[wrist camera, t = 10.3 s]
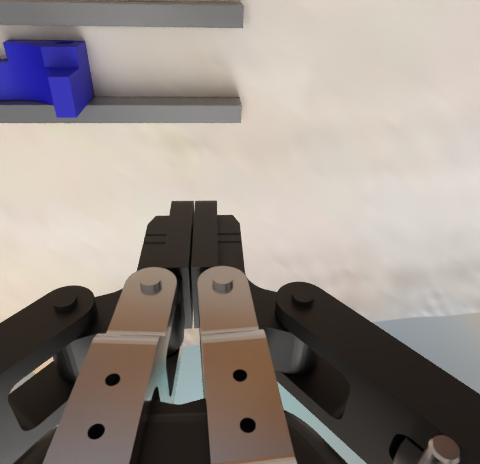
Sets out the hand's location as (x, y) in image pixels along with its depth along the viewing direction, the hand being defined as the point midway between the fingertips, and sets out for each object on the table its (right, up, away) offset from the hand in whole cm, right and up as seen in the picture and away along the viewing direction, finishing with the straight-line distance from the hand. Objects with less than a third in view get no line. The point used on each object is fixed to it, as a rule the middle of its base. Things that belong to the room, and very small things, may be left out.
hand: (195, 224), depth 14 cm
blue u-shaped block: (-17, +14, +21) cm, 31 cm away
